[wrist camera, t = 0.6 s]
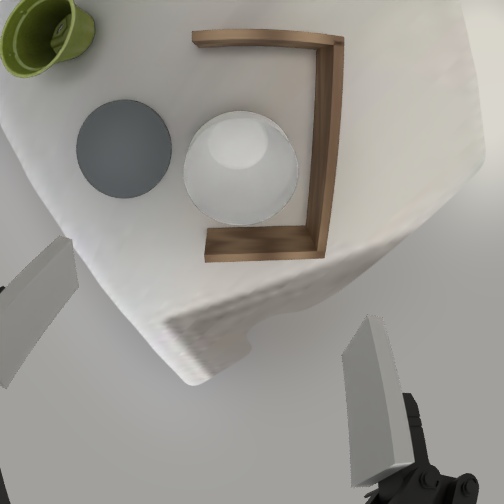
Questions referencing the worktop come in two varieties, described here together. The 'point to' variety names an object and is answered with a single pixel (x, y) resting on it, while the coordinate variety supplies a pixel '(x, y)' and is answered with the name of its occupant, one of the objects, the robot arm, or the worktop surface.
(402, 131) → the worktop surface
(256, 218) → the cup
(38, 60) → the plant pot
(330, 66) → the u-shaped wooden rail
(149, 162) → the disc
